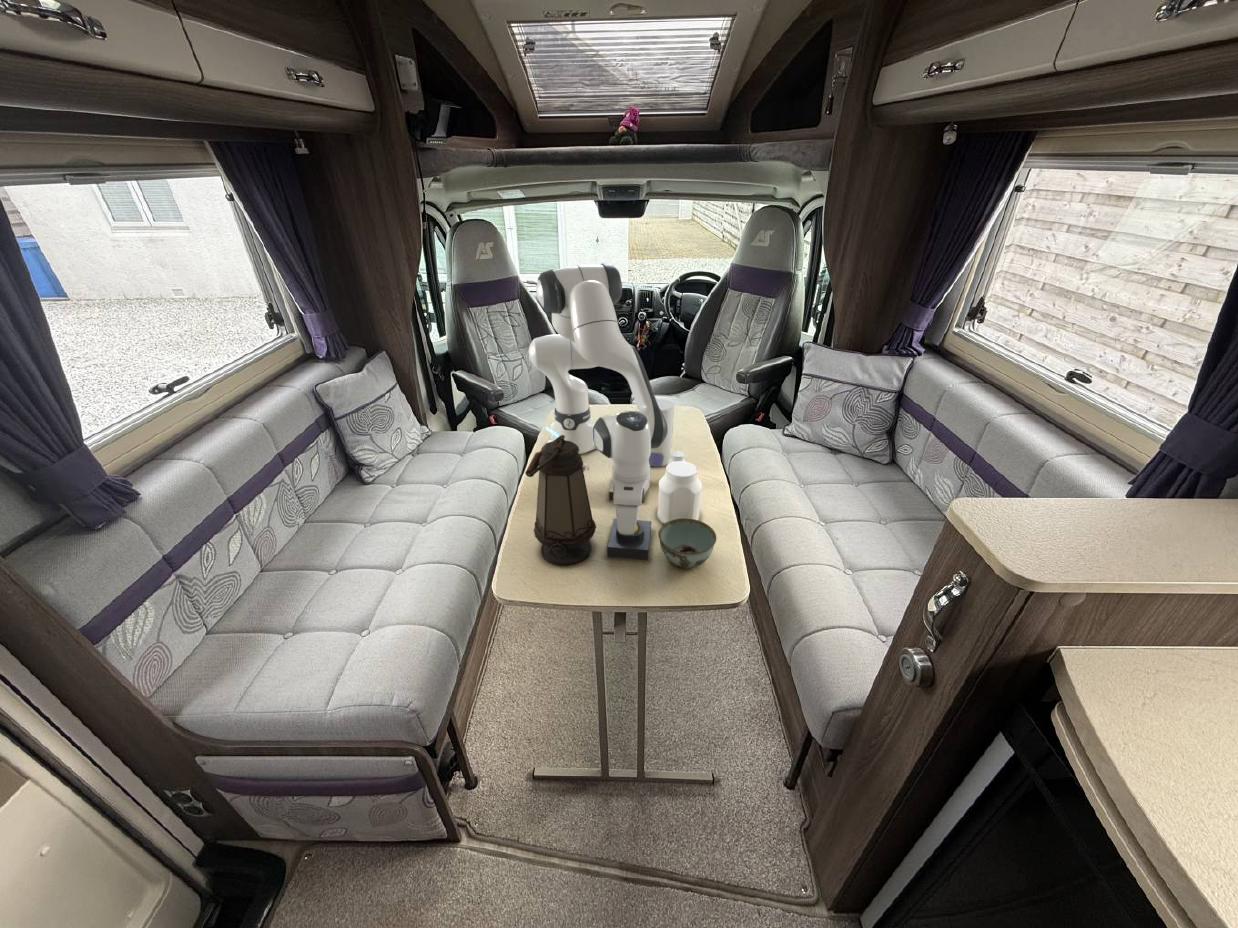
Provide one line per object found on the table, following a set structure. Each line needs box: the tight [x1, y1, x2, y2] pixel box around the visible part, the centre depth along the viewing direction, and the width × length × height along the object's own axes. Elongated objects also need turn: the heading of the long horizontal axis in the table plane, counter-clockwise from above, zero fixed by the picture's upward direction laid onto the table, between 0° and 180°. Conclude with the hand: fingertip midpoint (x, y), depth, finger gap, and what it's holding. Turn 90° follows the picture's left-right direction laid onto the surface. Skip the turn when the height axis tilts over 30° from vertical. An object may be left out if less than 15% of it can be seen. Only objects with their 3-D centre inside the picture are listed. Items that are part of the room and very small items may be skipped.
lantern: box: [524, 435, 597, 567], centre depth 118 cm, size 18×15×30 cm
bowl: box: [658, 518, 717, 570], centre depth 119 cm, size 14×13×8 cm
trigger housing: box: [606, 518, 652, 561], centre depth 126 cm, size 12×10×5 cm
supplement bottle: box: [667, 450, 687, 465], centre depth 151 cm, size 5×5×10 cm
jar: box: [656, 460, 703, 524], centre depth 134 cm, size 12×10×15 cm
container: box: [649, 398, 675, 468], centre depth 161 cm, size 10×10×20 cm
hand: (630, 527), depth 124 cm, fingers closed, pressing on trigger
